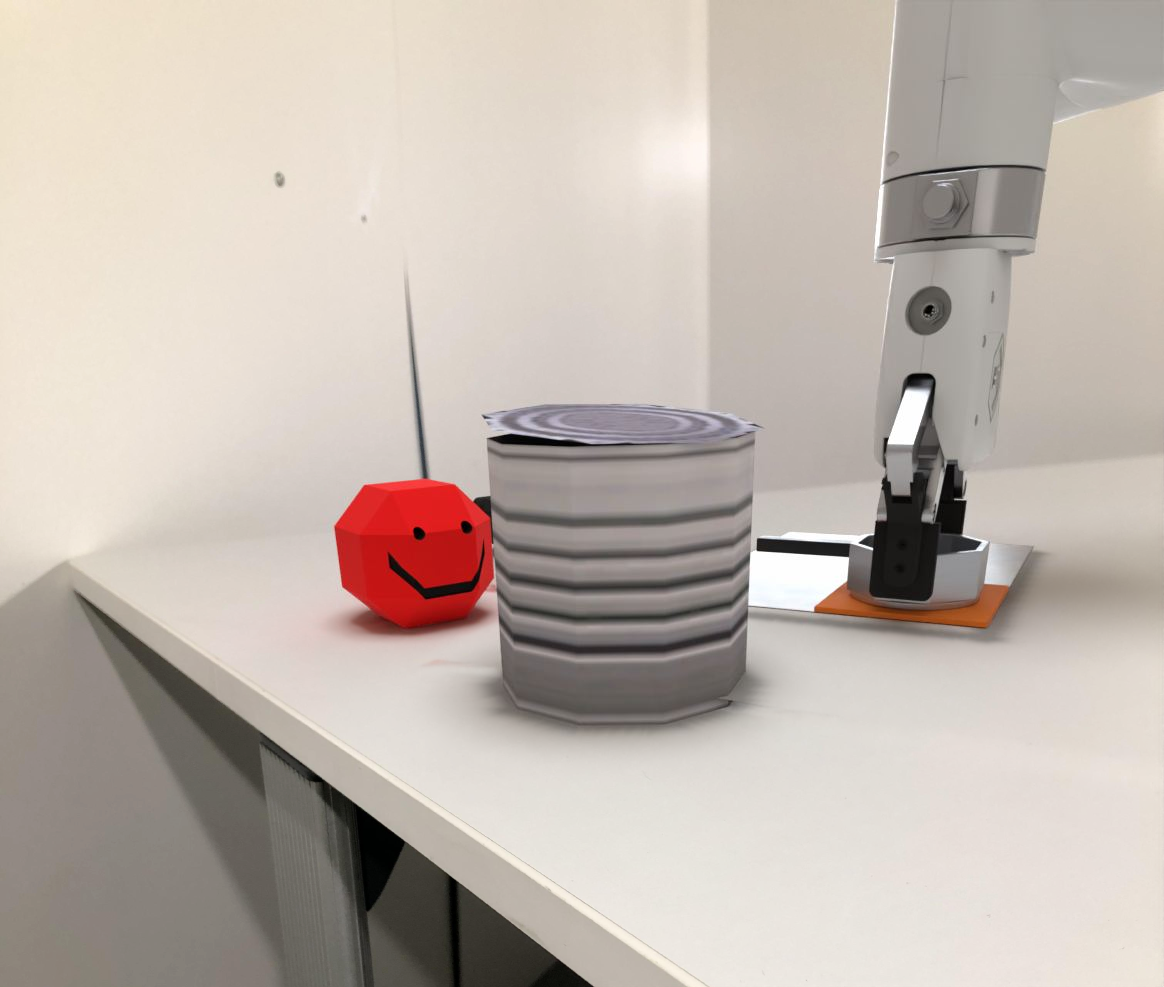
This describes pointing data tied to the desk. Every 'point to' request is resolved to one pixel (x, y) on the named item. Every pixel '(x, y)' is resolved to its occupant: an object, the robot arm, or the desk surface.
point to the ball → (415, 551)
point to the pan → (954, 568)
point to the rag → (965, 616)
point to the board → (843, 575)
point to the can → (621, 559)
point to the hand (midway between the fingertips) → (915, 580)
